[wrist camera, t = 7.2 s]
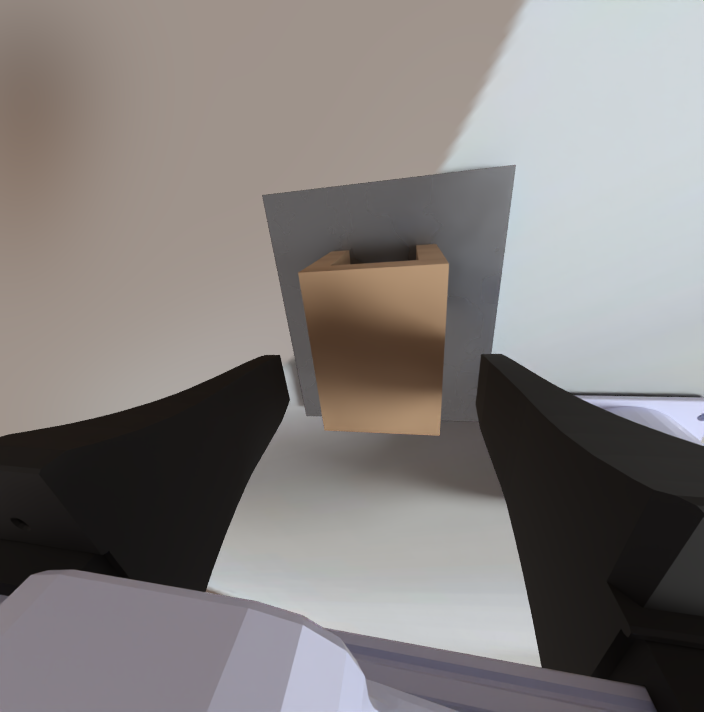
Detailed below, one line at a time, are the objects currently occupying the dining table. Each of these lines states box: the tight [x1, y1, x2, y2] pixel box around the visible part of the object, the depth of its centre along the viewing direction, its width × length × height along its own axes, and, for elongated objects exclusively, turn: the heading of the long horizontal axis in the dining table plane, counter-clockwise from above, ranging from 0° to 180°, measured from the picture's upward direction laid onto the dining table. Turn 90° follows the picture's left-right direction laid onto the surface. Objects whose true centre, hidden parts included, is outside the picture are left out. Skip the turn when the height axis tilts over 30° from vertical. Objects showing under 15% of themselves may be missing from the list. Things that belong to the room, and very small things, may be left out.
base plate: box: [262, 165, 516, 422], centre depth 15 cm, size 13×11×4 cm
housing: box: [298, 244, 449, 436], centre depth 14 cm, size 7×5×5 cm
